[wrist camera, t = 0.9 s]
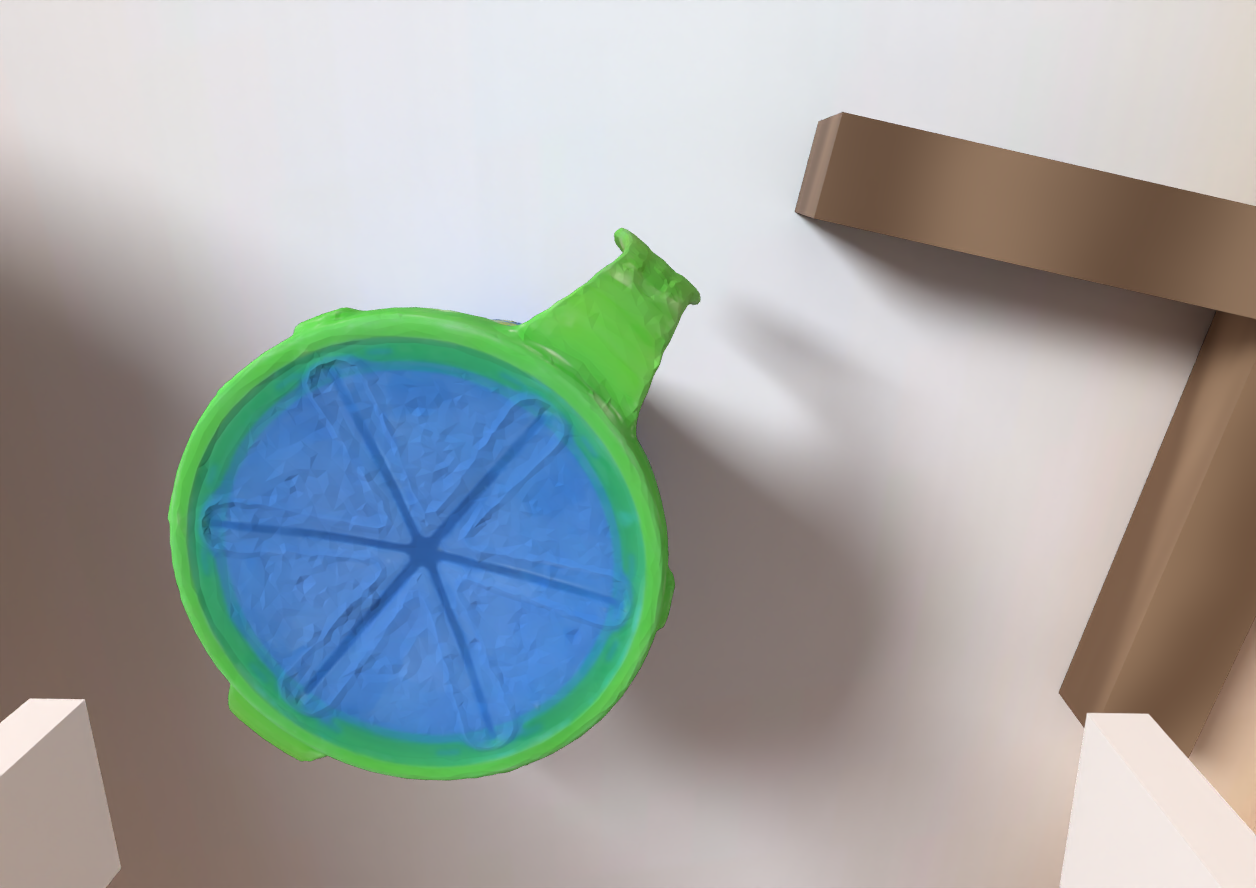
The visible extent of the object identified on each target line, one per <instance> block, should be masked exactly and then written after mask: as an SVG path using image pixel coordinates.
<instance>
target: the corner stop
mask: <svg viewBox="0 0 1256 888" xmlns="http://www.w3.org/2000/svg"><path fill="white" fill-rule="evenodd" d="M795 212H796V213H799V214H802V215H805V216H808V217H811V218H814V219H819V220H823V221H827V222H832V223H836V224H841V225H845V226H849V227H854V228H858V229H863V230H867V231H871V232H876V233H880V234H885V235H889V236H893V237H898V238H902V239H907V240H911V241H915V242H920V243H924V244H928V245H933V246H937V247H942V248H946V249H950V250H955V251H959V252H964V253H968V254H972V255H977V256H981V257H986V258H990V259H994V260H999V261H1003V262H1008V263H1012V264H1016V265H1021V266H1025V267H1030V268H1034V269H1038V270H1043V271H1047V272H1052V273H1056V274H1060V275H1065V276H1069V277H1074V278H1078V279H1082V280H1087V281H1091V282H1096V283H1100V284H1104V285H1109V286H1113V287H1118V288H1122V289H1126V290H1131V291H1135V292H1140V293H1144V294H1148V295H1153V296H1157V297H1162V298H1166V299H1170V300H1175V301H1179V302H1184V303H1188V304H1192V305H1197V306H1201V307H1206V308H1210V309H1214V310H1217V311H1216V314H1215V316H1214V318H1213V321H1212V323H1211V326H1210V328H1209V330H1208V333H1207V335H1206V338H1205V340H1204V343H1203V345H1202V347H1201V350H1200V352H1199V355H1198V357H1197V359H1196V362H1195V364H1194V367H1193V369H1192V372H1191V374H1190V376H1189V379H1188V381H1187V384H1186V386H1185V389H1184V391H1183V393H1182V396H1181V398H1180V401H1179V403H1178V405H1177V408H1176V410H1175V413H1174V415H1173V418H1172V420H1171V422H1170V425H1169V427H1168V430H1167V432H1166V434H1165V437H1164V439H1163V442H1162V444H1161V447H1160V449H1159V451H1158V454H1157V456H1156V459H1155V461H1154V463H1153V466H1152V468H1151V471H1150V473H1149V476H1148V478H1147V480H1146V483H1145V485H1144V488H1143V490H1142V493H1141V495H1140V497H1139V500H1138V502H1137V505H1136V507H1135V509H1134V512H1133V514H1132V517H1131V519H1130V522H1129V524H1128V526H1127V529H1126V531H1125V534H1124V536H1123V538H1122V541H1121V543H1120V546H1119V548H1118V551H1117V553H1116V555H1115V558H1114V560H1113V563H1112V565H1111V568H1110V570H1109V572H1108V575H1107V577H1106V580H1105V582H1104V584H1103V587H1102V589H1101V592H1100V594H1099V597H1098V599H1097V601H1096V604H1095V606H1094V609H1093V611H1092V613H1091V616H1090V618H1089V621H1088V623H1087V626H1086V628H1085V630H1084V633H1083V635H1082V638H1081V640H1080V642H1079V645H1078V647H1077V650H1076V652H1075V655H1074V657H1073V659H1072V662H1071V664H1070V667H1069V669H1068V672H1067V674H1066V676H1065V679H1064V681H1063V684H1062V686H1061V688H1060V691H1059V694H1060V695H1061V697H1062V698H1063V699H1064V701H1065V702H1066V704H1067V705H1068V706H1069V708H1070V709H1071V710H1072V712H1073V713H1074V715H1075V716H1076V717H1077V719H1078V720H1079V722H1080V723H1081V724H1082V726H1083V727H1084V728H1085V722H1086V716H1087V713H1131V714H1149V715H1150V716H1151V717H1152V718H1153V719H1154V721H1155V722H1156V723H1157V724H1158V725H1159V726H1160V727H1161V728H1162V730H1163V731H1164V732H1165V733H1166V734H1167V735H1168V736H1169V738H1170V739H1171V740H1172V741H1173V742H1174V743H1175V744H1176V745H1177V747H1178V748H1179V749H1180V750H1181V751H1182V752H1183V753H1184V754H1185V756H1186V757H1187V758H1189V756H1190V754H1191V752H1192V749H1193V747H1194V745H1195V743H1196V741H1197V739H1198V737H1199V735H1200V733H1201V730H1202V728H1203V726H1204V724H1205V722H1206V720H1207V718H1208V716H1209V714H1210V711H1211V709H1212V707H1213V705H1214V703H1215V701H1216V699H1217V697H1218V695H1219V693H1220V690H1221V688H1222V686H1223V684H1224V682H1225V680H1226V678H1227V676H1228V674H1229V671H1230V669H1231V667H1232V665H1233V663H1234V661H1235V659H1236V657H1237V655H1238V653H1239V650H1240V648H1241V646H1242V644H1243V642H1244V640H1245V638H1246V636H1247V634H1248V631H1249V629H1250V627H1251V625H1252V623H1253V621H1254V619H1255V617H1256V206H1252V205H1248V204H1243V203H1239V202H1235V201H1230V200H1226V199H1221V198H1217V197H1213V196H1208V195H1204V194H1200V193H1195V192H1191V191H1186V190H1182V189H1178V188H1173V187H1169V186H1164V185H1160V184H1156V183H1151V182H1147V181H1143V180H1138V179H1134V178H1129V177H1125V176H1121V175H1116V174H1112V173H1108V172H1103V171H1099V170H1094V169H1090V168H1086V167H1081V166H1077V165H1072V164H1068V163H1064V162H1059V161H1055V160H1051V159H1046V158H1042V157H1037V156H1033V155H1029V154H1024V153H1020V152H1016V151H1011V150H1007V149H1002V148H998V147H994V146H989V145H985V144H980V143H976V142H972V141H967V140H963V139H959V138H954V137H950V136H945V135H941V134H937V133H932V132H928V131H923V130H919V129H915V128H910V127H906V126H902V125H897V124H893V123H888V122H884V121H880V120H875V119H871V118H867V117H862V116H858V115H853V114H849V113H845V112H842V113H839V114H837V115H834V116H831V117H829V118H826V119H824V120H821V121H819V122H818V125H817V129H816V133H815V137H814V140H813V144H812V148H811V152H810V155H809V159H808V163H807V167H806V171H805V174H804V178H803V182H802V186H801V190H800V193H799V197H798V201H797V205H796V208H795Z"/></svg>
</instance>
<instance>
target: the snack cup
mask: <svg viewBox="0 0 1256 888" xmlns="http://www.w3.org/2000/svg"><path fill="white" fill-rule="evenodd" d="M614 238H615V243H616V245H617V246H618V247H619V248H620V250H621V251H622V252H623V253H622V254H621V255H620V256H619V257H618V258H617V259H616V260H615V261H614V262H612V263H611V264H609V265H607V266H606V267H604V268H603V269H602V270H600V271H599V272H598V273H596V274H595V275H594V276H593V277H592V278H591V279H590V280H589V281H588V282H587V283H585V284H584V285H582V286H581V287H579V288H578V289H576V290H575V291H574V292H572V293H571V294H570V295H568V296H567V297H565V298H563V299H561V300H559V301H558V302H556V303H555V304H554V305H553V306H551V307H550V308H548V309H547V310H545V311H543V312H542V313H540V314H538V315H536V316H534V317H533V318H532V319H530V320H529V321H527V322H525V323H523V324H521V323H517V322H514V321H508V320H500V319H496V320H490V319H487V318H483V317H478V316H474V315H469V314H465V313H460V312H456V311H451V310H440V309H432V308H418V307H409V308H387V309H378V310H370V311H361V310H356V309H351V308H340V309H337V310H334V311H331V312H328V313H324V314H321V315H319V316H316V317H314V318H311V319H309V320H306V321H304V322H301V323H300V324H299V325H297V326H296V327H295V330H294V333H293V335H292V336H291V337H290V338H288V339H286V340H285V341H283V342H281V343H280V344H278V345H276V346H275V347H273V348H271V349H269V350H268V351H266V352H264V353H263V354H261V355H260V356H259V357H258V358H257V359H255V360H254V361H253V362H251V363H250V364H249V365H247V366H246V367H245V368H244V369H242V370H241V371H240V372H238V373H237V374H236V375H235V376H234V377H233V378H232V379H231V380H229V381H228V382H226V383H225V384H224V386H223V387H222V388H220V389H219V390H218V392H217V394H216V396H215V397H214V398H213V399H212V400H211V402H210V403H209V405H208V406H207V408H206V410H205V411H204V413H203V414H202V416H201V417H200V419H199V421H198V423H197V424H196V426H195V428H194V429H193V431H192V433H191V436H190V438H189V441H188V443H187V445H186V448H185V450H184V453H183V455H182V458H181V461H180V464H179V467H178V470H177V473H176V478H175V482H174V488H173V492H172V496H171V501H170V506H169V513H168V521H169V523H170V546H171V551H172V564H173V568H174V573H175V578H176V583H177V586H178V588H179V591H180V598H181V601H182V603H183V606H184V608H185V611H186V613H187V615H188V617H189V620H190V622H191V624H192V626H193V628H194V630H195V633H196V634H197V636H198V638H199V640H200V641H201V643H202V645H203V647H204V648H205V650H206V652H207V653H208V655H209V656H210V658H211V659H212V661H213V662H214V664H215V665H216V667H217V668H218V669H219V670H220V672H221V673H222V674H223V675H224V676H225V678H226V679H227V680H228V681H229V683H230V688H229V695H228V700H229V701H228V705H229V709H230V711H231V712H232V713H233V714H234V715H235V716H236V717H237V718H238V719H239V720H241V721H242V722H243V723H244V724H246V725H247V726H248V727H249V728H251V729H252V730H253V731H254V732H256V733H257V734H258V735H259V736H261V737H262V738H263V739H265V740H266V741H268V742H269V743H271V744H272V745H274V746H275V747H277V748H278V749H280V750H281V751H283V752H285V753H286V754H288V755H290V756H292V757H294V758H295V759H297V760H299V761H313V760H315V759H319V758H323V757H326V756H329V757H332V758H334V759H336V760H339V761H341V762H344V763H346V764H349V765H352V766H355V767H358V768H361V769H364V770H367V771H371V772H375V773H380V774H384V775H389V776H395V777H401V778H406V779H420V780H457V779H466V778H479V777H483V776H489V775H494V774H498V773H506V772H510V771H512V770H515V769H518V768H520V767H522V766H525V765H528V764H529V763H532V762H535V761H537V760H539V759H542V758H544V757H547V756H549V755H551V754H553V753H554V752H556V751H558V750H559V749H561V748H563V747H565V746H566V745H568V744H570V743H571V742H573V741H574V740H576V739H578V738H579V737H581V736H582V735H583V734H584V733H586V732H587V731H588V730H589V729H591V728H592V727H593V726H594V725H595V724H596V723H598V722H599V721H600V720H601V719H602V718H603V717H604V716H605V715H606V714H607V713H608V712H609V711H610V710H611V709H612V707H613V706H614V705H615V704H616V703H617V702H618V701H619V699H620V698H621V697H622V696H623V694H624V693H625V691H626V690H627V688H628V687H629V685H630V684H631V682H632V681H633V679H634V678H635V676H636V675H637V673H638V671H639V670H640V668H641V666H642V664H643V662H644V660H645V658H646V656H647V654H648V651H649V649H650V647H651V644H652V642H653V640H654V637H655V634H656V632H657V631H658V630H659V629H661V628H663V627H664V625H665V622H666V620H667V617H668V614H669V610H670V606H671V600H672V596H673V592H674V588H675V581H674V577H673V574H672V572H671V570H670V569H669V567H668V556H669V554H668V537H667V525H666V520H665V515H664V510H663V506H662V501H661V497H660V494H659V490H658V486H657V483H656V480H655V477H654V474H653V471H652V468H651V466H650V463H649V461H648V458H647V456H646V454H645V452H644V450H643V449H642V447H641V445H640V443H639V441H638V439H637V437H636V424H637V419H638V415H639V411H640V408H641V406H642V403H643V401H644V399H645V397H646V395H647V393H648V390H649V388H650V385H651V382H652V379H653V376H654V374H655V372H656V370H657V369H658V367H659V365H660V362H661V359H662V355H663V352H664V350H665V349H666V347H667V346H668V344H669V342H670V340H671V338H672V336H673V334H674V332H675V329H676V327H677V325H678V323H679V320H680V318H681V315H682V314H683V312H684V310H685V309H686V307H687V305H689V304H692V305H696V304H698V303H699V302H700V293H699V292H698V291H697V289H696V288H695V287H694V286H693V285H692V284H691V283H690V282H689V281H688V280H687V279H686V278H685V277H683V276H682V275H680V274H678V273H676V272H675V271H674V270H673V269H672V268H671V267H670V266H669V265H668V264H667V263H666V262H665V261H664V260H663V259H661V258H660V257H659V256H657V255H656V254H655V253H653V252H652V251H651V250H650V248H649V247H648V246H647V245H646V244H645V243H644V242H642V241H641V240H640V239H639V238H638V237H637V236H635V235H634V234H633V233H631V232H630V231H628V230H626V229H624V228H620V229H619V230H617V231H616V232H615V234H614Z"/></svg>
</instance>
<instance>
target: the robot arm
mask: <svg viewBox="0 0 1256 888" xmlns="http://www.w3.org/2000/svg"><path fill="white" fill-rule="evenodd" d="M120 869H121V864H120V860H119V855H118V850H117V846H116V841H115V836H114V832H113V827H112V822H111V818H110V813H109V808H108V804H107V799H106V794H105V790H104V785H103V781H102V776H101V771H100V767H99V762H98V757H97V753H96V748H95V743H94V739H93V734H92V729H91V725H90V720H89V715H88V711H87V706H86V701H85V699H28V700H27V701H26V702H25V703H24V704H22V705H21V706H20V707H19V708H18V709H16V710H15V711H14V712H13V713H12V714H10V715H9V716H8V717H7V718H5V719H4V720H3V721H2V722H1V723H0V888H106V887H107V886H108V885H109V883H110V882H111V881H112V879H113V878H114V877H115V876H116V874H117V873H118V872H119V870H120ZM1060 888H1256V835H1255V834H1254V833H1253V831H1252V830H1251V829H1250V828H1249V827H1248V826H1247V825H1246V823H1245V822H1244V821H1243V820H1242V819H1241V818H1240V817H1239V816H1238V814H1237V813H1236V812H1235V811H1234V810H1233V809H1232V808H1231V807H1230V805H1229V804H1228V803H1227V802H1226V801H1225V800H1224V799H1223V797H1222V796H1221V795H1220V794H1219V793H1218V792H1217V791H1216V790H1215V788H1214V787H1213V786H1212V785H1211V784H1210V783H1209V782H1208V781H1207V779H1206V778H1205V777H1204V776H1203V775H1202V774H1201V773H1200V771H1199V770H1198V769H1197V768H1196V767H1195V766H1194V765H1193V764H1192V762H1191V761H1190V760H1189V759H1188V758H1187V757H1186V756H1185V754H1184V753H1183V752H1182V751H1181V750H1180V749H1179V748H1178V747H1177V745H1176V744H1175V743H1174V742H1173V741H1172V740H1171V739H1170V738H1169V736H1168V735H1167V734H1166V733H1165V732H1164V731H1163V730H1162V728H1161V727H1160V726H1159V725H1158V724H1157V723H1156V722H1155V721H1154V719H1153V718H1152V717H1151V716H1150V715H1149V714H1131V713H1087V716H1086V722H1085V728H1084V735H1083V741H1082V748H1081V754H1080V760H1079V767H1078V773H1077V779H1076V786H1075V792H1074V798H1073V805H1072V811H1071V818H1070V824H1069V830H1068V837H1067V843H1066V849H1065V856H1064V862H1063V868H1062V875H1061V881H1060Z"/></svg>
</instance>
